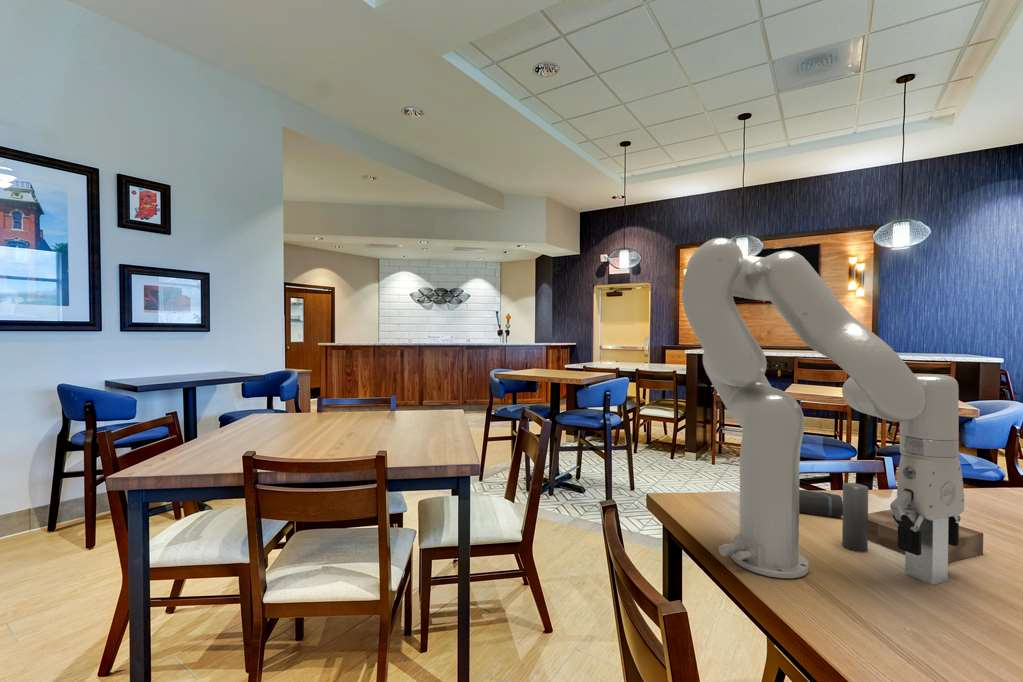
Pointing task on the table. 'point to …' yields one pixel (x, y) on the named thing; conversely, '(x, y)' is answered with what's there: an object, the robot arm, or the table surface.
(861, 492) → the round bit
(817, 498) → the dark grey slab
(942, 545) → the square bit
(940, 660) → the table surface
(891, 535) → the bore block
